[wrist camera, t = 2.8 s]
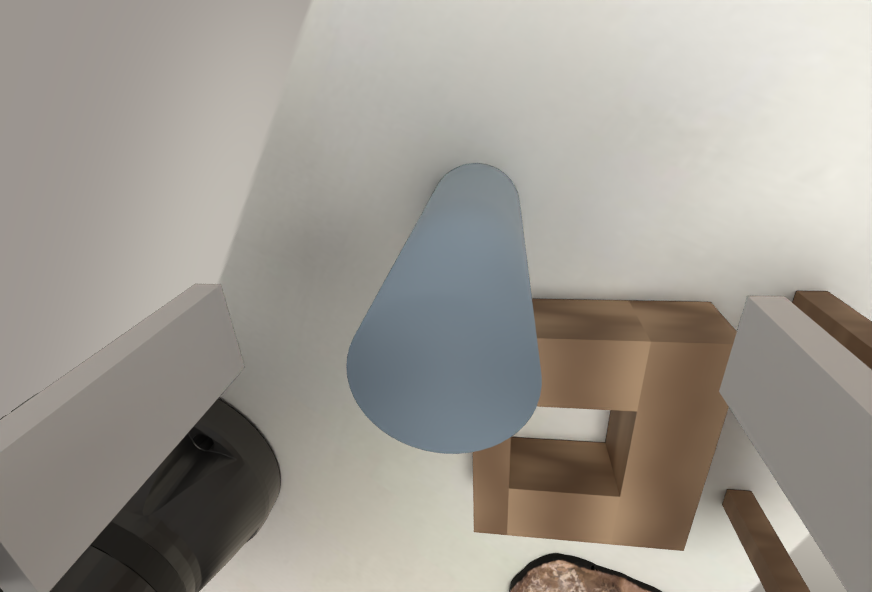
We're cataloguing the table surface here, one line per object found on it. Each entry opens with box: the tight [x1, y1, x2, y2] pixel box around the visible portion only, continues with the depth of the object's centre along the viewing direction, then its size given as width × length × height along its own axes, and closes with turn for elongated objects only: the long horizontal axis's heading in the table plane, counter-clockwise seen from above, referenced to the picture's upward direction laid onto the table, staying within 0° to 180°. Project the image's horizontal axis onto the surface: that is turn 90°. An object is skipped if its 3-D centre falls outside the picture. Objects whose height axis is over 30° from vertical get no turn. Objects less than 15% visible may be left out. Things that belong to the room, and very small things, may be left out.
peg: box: [347, 163, 542, 454], centre depth 16 cm, size 4×4×14 cm
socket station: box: [473, 291, 872, 592], centre depth 19 cm, size 18×16×17 cm
